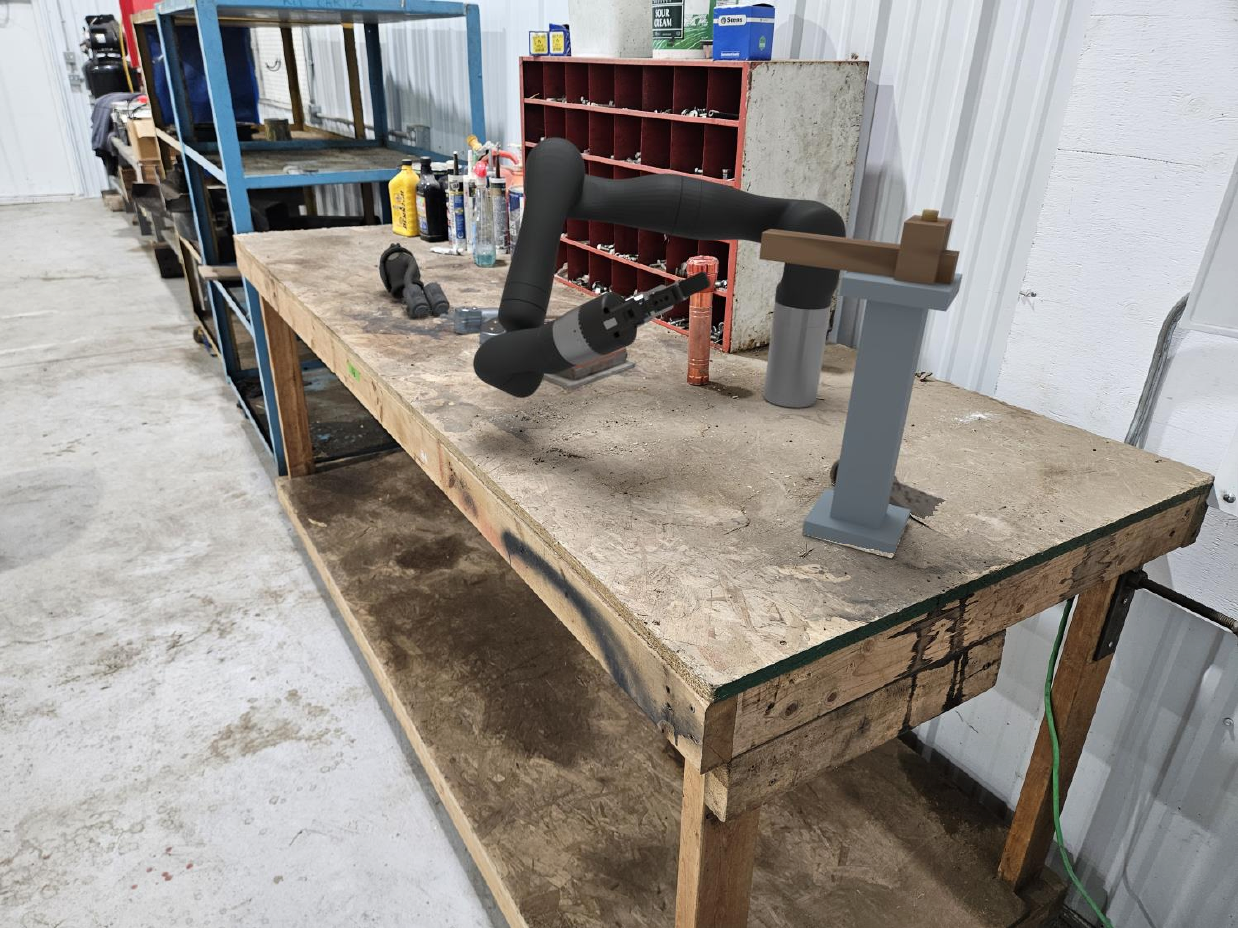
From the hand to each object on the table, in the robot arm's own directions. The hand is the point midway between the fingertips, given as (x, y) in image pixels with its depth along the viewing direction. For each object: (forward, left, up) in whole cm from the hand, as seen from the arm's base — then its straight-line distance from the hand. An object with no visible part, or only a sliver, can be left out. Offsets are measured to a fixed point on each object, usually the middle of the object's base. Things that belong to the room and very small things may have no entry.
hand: (694, 285), depth 100 cm
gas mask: (-51, -92, -28) cm, 108 cm away
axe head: (-11, +29, -28) cm, 42 cm away
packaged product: (-33, -34, -28) cm, 55 cm away
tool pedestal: (0, +24, -28) cm, 37 cm away
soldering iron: (-45, -59, -28) cm, 79 cm away
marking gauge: (0, +19, +4) cm, 19 cm away
